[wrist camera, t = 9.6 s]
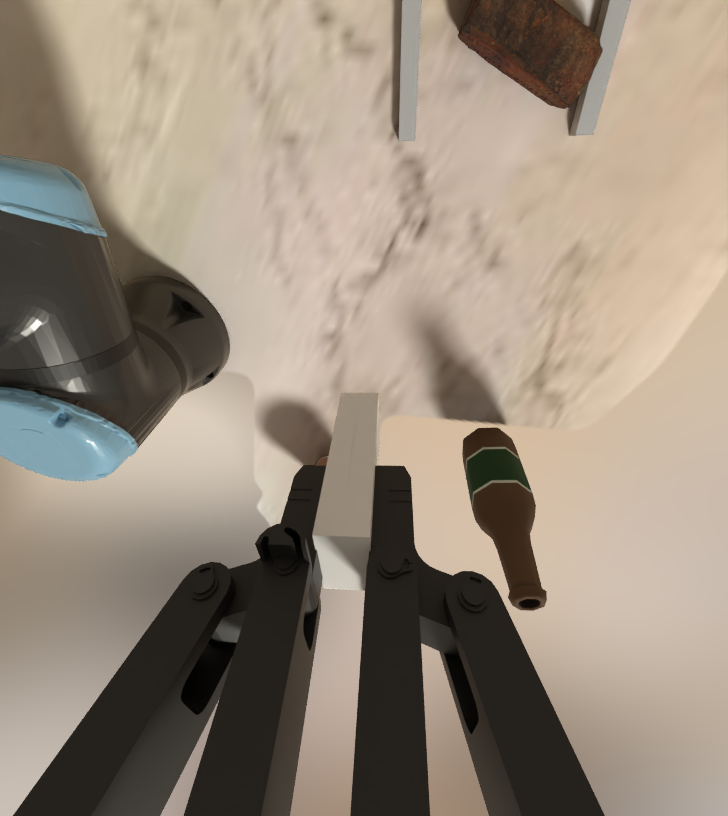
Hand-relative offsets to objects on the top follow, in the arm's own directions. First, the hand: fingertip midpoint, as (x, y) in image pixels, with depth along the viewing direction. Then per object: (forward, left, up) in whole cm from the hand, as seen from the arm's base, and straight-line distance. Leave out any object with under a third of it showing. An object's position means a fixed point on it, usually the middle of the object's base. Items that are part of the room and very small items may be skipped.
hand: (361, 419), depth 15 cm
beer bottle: (+16, -29, -31) cm, 45 cm away
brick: (+11, +15, -31) cm, 37 cm away
